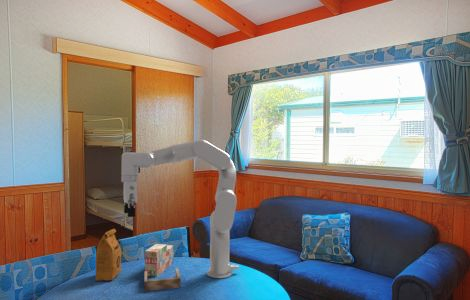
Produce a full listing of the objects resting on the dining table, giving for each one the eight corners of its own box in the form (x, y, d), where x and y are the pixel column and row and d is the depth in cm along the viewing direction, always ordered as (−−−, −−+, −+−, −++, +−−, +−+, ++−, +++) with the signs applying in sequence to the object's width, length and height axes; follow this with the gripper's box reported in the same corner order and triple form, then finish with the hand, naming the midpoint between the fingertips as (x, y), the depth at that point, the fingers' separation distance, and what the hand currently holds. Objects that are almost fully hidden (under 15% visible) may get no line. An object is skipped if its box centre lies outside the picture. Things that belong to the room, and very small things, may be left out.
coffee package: (124, 272, 165) (125, 228, 165) (112, 282, 152) (113, 234, 152) (105, 271, 166) (105, 227, 166) (91, 281, 153) (92, 233, 153)
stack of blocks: (162, 261, 182) (163, 239, 182) (173, 262, 181) (174, 239, 181) (144, 276, 161) (144, 250, 161) (156, 277, 160) (157, 251, 160)
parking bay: (177, 276, 160) (177, 268, 160) (180, 287, 148) (180, 278, 148) (144, 279, 156) (144, 271, 156) (144, 290, 144) (144, 281, 144)
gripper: (141, 179, 152) (141, 217, 152) (134, 176, 167) (134, 211, 167) (124, 180, 148) (124, 218, 148) (118, 177, 164) (118, 212, 164)
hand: (129, 214), depth 158 cm, fingers open, 9 cm apart
